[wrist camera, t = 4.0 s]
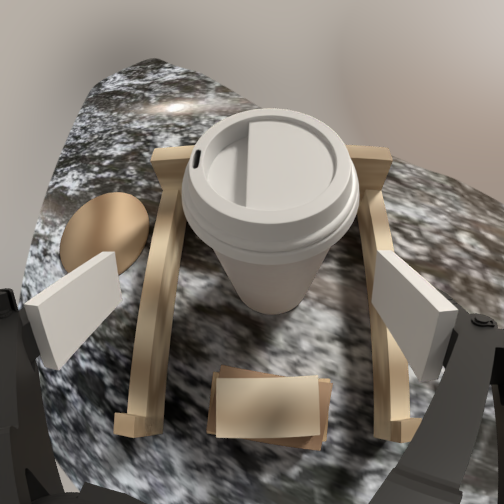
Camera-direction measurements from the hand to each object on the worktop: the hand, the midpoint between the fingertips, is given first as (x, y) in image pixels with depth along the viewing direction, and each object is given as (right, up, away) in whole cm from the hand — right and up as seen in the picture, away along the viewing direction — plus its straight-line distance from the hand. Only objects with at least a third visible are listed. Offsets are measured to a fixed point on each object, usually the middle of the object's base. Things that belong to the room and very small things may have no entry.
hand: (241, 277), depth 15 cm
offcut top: (+2, -9, +5) cm, 11 cm away
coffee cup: (+2, -1, +13) cm, 13 cm away
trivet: (-15, +3, +16) cm, 23 cm away
